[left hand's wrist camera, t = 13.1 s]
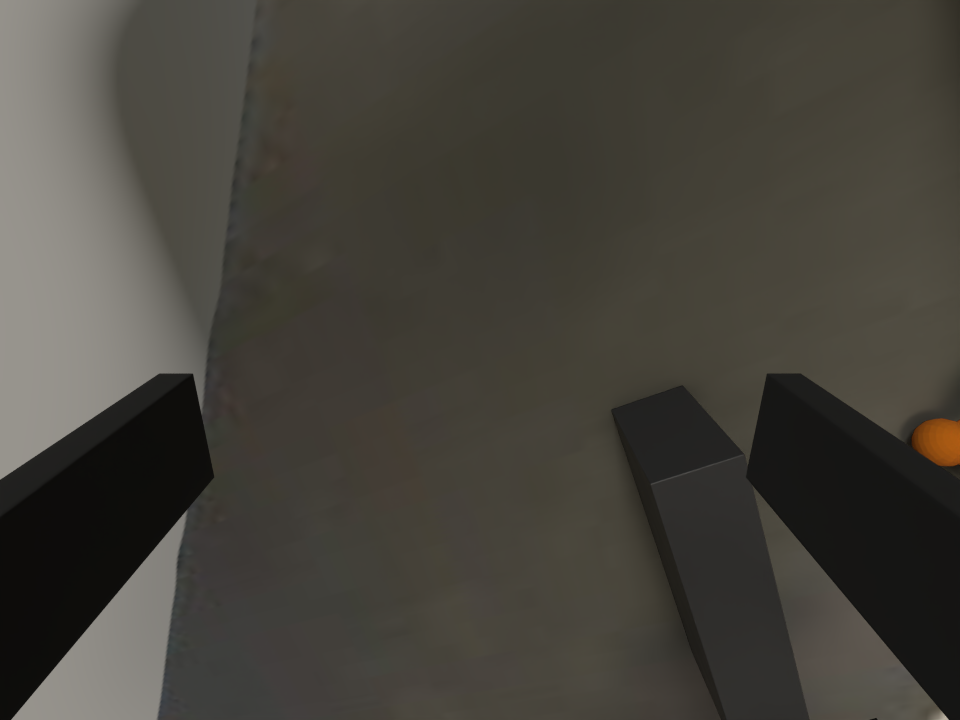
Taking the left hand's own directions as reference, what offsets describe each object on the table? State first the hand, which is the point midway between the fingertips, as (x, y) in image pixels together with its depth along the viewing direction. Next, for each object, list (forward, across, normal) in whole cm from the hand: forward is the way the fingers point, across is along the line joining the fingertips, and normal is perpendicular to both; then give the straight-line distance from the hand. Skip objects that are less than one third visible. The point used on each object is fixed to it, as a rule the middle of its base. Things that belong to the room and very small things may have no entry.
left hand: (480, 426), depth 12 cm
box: (+29, +19, -26) cm, 43 cm away
